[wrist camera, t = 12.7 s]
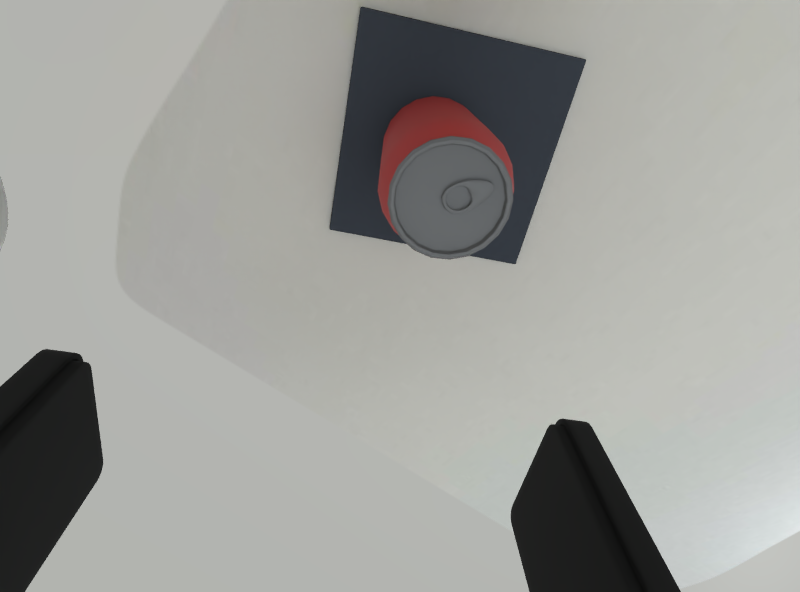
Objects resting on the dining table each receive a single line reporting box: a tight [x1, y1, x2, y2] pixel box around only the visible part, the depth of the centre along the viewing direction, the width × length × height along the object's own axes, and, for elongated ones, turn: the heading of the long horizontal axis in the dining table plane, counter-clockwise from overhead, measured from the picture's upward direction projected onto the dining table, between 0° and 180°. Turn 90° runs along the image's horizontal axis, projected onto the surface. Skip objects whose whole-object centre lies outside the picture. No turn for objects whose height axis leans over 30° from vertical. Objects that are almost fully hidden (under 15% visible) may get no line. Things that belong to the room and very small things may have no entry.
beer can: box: [378, 96, 514, 259], centre depth 26 cm, size 7×7×12 cm
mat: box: [330, 7, 586, 264], centre depth 32 cm, size 14×14×1 cm
